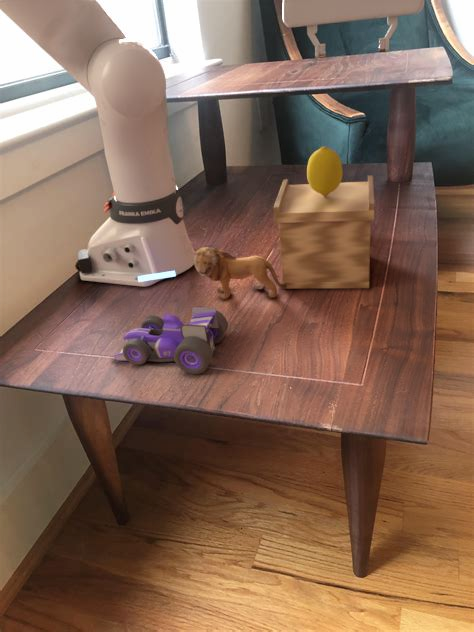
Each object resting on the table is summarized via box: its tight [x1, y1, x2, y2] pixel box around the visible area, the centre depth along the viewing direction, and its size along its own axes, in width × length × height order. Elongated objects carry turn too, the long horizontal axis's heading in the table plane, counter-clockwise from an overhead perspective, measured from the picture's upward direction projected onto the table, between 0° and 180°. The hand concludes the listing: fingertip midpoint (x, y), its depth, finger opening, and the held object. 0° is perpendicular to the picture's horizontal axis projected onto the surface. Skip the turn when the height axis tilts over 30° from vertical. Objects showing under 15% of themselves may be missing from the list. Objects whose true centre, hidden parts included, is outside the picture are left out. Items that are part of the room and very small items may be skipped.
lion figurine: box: [194, 246, 288, 300], centre depth 89 cm, size 15×5×9 cm, turn 90°
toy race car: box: [113, 306, 229, 375], centre depth 78 cm, size 10×15×6 cm, turn 74°
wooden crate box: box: [273, 175, 375, 290], centre depth 91 cm, size 15×13×15 cm
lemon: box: [306, 145, 343, 197], centre depth 86 cm, size 6×6×8 cm
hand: (351, 54), depth 83 cm, fingers open, 8 cm apart
